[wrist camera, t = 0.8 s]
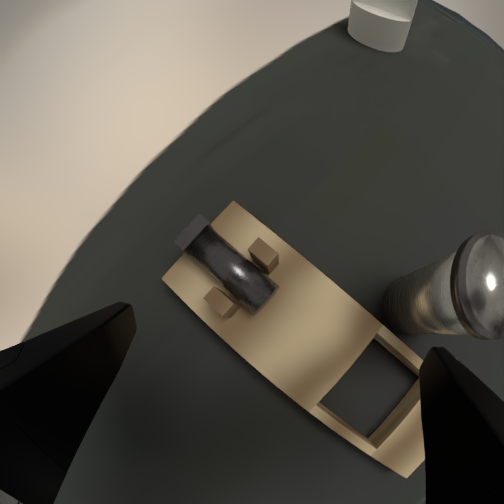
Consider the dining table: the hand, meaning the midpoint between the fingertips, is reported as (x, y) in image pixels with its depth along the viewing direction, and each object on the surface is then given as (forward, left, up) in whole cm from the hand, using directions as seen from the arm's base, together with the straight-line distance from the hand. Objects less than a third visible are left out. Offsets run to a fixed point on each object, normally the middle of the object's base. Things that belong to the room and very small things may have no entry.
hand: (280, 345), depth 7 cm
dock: (-4, -1, -14) cm, 15 cm away
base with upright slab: (+14, -40, -14) cm, 45 cm away
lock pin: (+6, -1, -11) cm, 13 cm away
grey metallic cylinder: (-7, -8, -14) cm, 18 cm away
